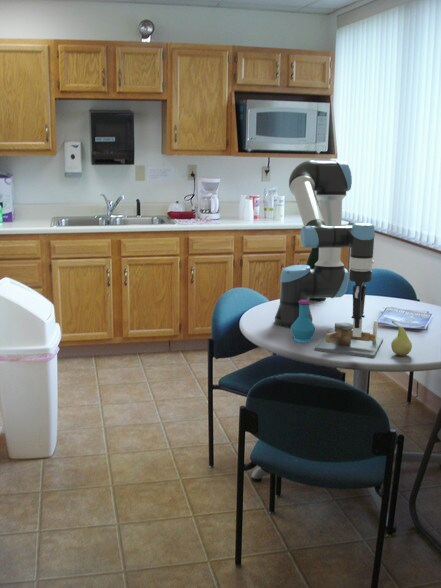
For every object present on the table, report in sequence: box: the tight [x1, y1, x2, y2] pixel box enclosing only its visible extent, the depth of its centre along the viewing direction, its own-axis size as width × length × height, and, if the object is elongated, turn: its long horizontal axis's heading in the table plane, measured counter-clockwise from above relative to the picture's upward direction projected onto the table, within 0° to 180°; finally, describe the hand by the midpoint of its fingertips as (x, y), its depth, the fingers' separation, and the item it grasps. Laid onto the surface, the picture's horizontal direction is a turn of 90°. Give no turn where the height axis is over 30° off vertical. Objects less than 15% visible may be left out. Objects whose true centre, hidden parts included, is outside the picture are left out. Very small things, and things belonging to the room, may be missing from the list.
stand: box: [313, 320, 384, 359], centre depth 246 cm, size 21×21×9 cm
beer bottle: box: [305, 248, 326, 301], centre depth 313 cm, size 10×10×33 cm
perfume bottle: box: [290, 300, 317, 343], centre depth 252 cm, size 9×9×15 cm
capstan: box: [325, 322, 375, 345], centre depth 243 cm, size 16×16×7 cm
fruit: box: [390, 320, 413, 357], centre depth 236 cm, size 7×8×12 cm
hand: (356, 336), depth 235 cm, fingers closed
